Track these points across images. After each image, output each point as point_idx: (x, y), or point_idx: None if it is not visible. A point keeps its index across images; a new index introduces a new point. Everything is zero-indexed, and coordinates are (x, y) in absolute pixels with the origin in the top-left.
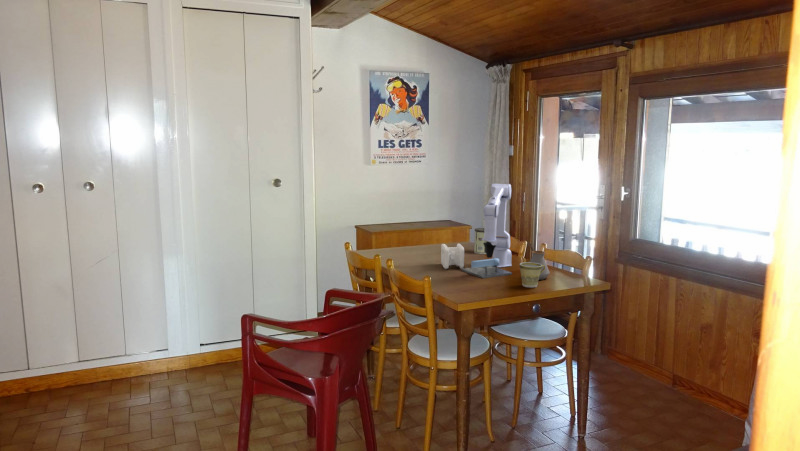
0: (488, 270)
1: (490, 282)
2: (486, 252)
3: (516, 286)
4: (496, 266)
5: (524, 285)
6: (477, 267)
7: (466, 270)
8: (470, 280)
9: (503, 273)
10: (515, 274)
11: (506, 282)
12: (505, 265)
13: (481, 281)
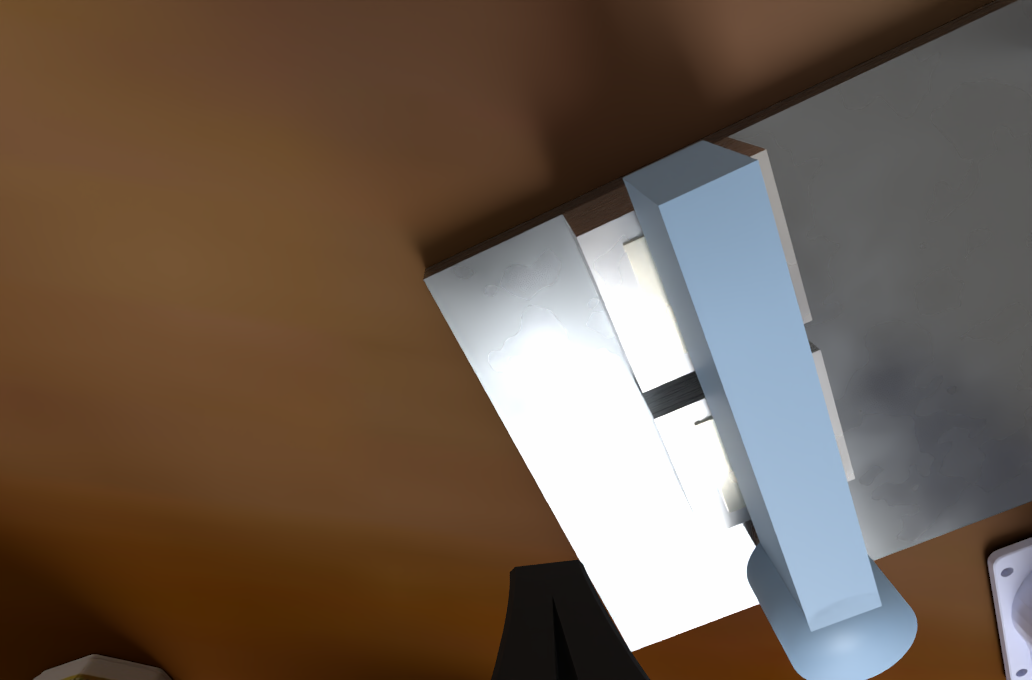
0: (652, 420)
1: (182, 342)
2: (573, 655)
3: (41, 597)
4: None
5: (48, 675)
6: None
7: (867, 71)
8: (260, 36)
9: (595, 567)
10: None
11: (225, 529)
12: (1021, 636)
13: (220, 221)
